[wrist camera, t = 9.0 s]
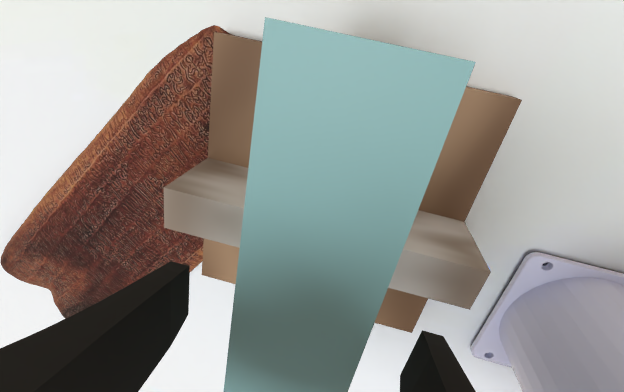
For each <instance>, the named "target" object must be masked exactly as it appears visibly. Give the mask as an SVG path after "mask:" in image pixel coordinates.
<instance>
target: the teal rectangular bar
mask: <svg viewBox="0 0 624 392" xmlns="http://www.w3.org/2000/svg"><path fill="white" fill-rule="evenodd" d="M475 63H476V62H473V61H468V60H464V59H459V58H454V57H450V56H445V55H440V54H436V53H431V52H426V51H421V50H417V49H412V48H407V47H403V46H398V45H393V44H389V43H384V42H379V41H374V40H370V39H365V38H360V37H356V36H351V35H346V34H342V33H337V32H332V31H327V30H323V29H318V28H313V27H309V26H304V25H299V24H295V23H290V22H285V21H281V20H276V19H271V18H266V17H265V23H264V32H263V41H262V50H261V59H260V68H259V77H258V86H257V95H256V104H255V113H254V122H253V131H252V140H251V149H250V158H249V167H248V177H247V186H246V195H245V204H244V213H243V222H242V231H241V240H240V249H239V258H238V267H237V276H236V285H235V294H234V303H233V312H232V321H231V330H230V339H229V349H228V358H227V367H226V376H225V385H224V392H348V389H349V387H350V384H351V382H352V379H353V376H354V374H355V371H356V369H357V366H358V364H359V361H360V358H361V356H362V353H363V351H364V348H365V346H366V343H367V340H368V338H369V335H370V333H371V330H372V328H373V325H374V322H375V320H376V317H377V315H378V312H379V310H380V307H381V304H382V302H383V299H384V297H385V294H386V292H387V289H388V286H389V284H390V281H391V279H392V276H393V274H394V271H395V268H396V266H397V263H398V261H399V258H400V256H401V253H402V250H403V248H404V245H405V243H406V240H407V238H408V235H409V232H410V230H411V227H412V225H413V222H414V220H415V217H416V214H417V212H418V209H419V207H420V204H421V202H422V199H423V196H424V194H425V191H426V189H427V186H428V184H429V181H430V178H431V176H432V173H433V171H434V168H435V166H436V163H437V160H438V158H439V155H440V153H441V150H442V147H443V145H444V142H445V140H446V137H447V135H448V132H449V129H450V127H451V124H452V122H453V119H454V117H455V114H456V111H457V109H458V106H459V104H460V101H461V99H462V96H463V93H464V91H465V88H466V86H467V83H468V81H469V78H470V75H471V73H472V70H473V68H474V65H475Z"/></svg>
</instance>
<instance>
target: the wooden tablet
mask: <svg viewBox="0 0 624 392" xmlns="http://www.w3.org/2000/svg"><path fill="white" fill-rule="evenodd" d="M214 32H216V33H225V34H229V33H228V32H226V31H225V30H223V29H222V28H220V27H218V26H215V25H213V26H211V27H208V28H206V29H203V30H201V31H200V32H199V33H198V34H196V35H194V36H193V37H191V38H190V39H188V40H187V41H186V42H184V43H182V44H181V45H179V46H178V47H177V48H176V49H175V50H173V51H172V52H171V53H169V54H168V55H166V56H165V57H164V58H163V59H162V60H161V61H160V62H159V63H158V64H157V65H156V66H155V67H154V68H153V69H152V70H151V71H150V72H149V73H148V74H147V75H146V76H145V78H144V79H143V81H142V82H141V83H140V84H139V85H138V86H137V87H136V89H135V90H134V91H133V93H132V94H131V96H130V97H129V98H128V99H127V100H126V101H125V103H124V104H123V105H122V106H121V107H120V109H119V110H118V111H117V112H116V114H115V115H114V116H113V117H112V118H111V119H110V120H109V122H108V123H107V124H106V125H105V126H104V128H103V129H102V130H101V131H100V132H99V133H98V134H97V135H96V137H95V139H94V140H93V141H92V142H91V143H90V144H89V145H88V147H87V148H86V149H85V150H84V151H83V152H82V153H81V154H80V155H79V156H78V157H77V158H76V160H75V161H74V162H73V163H72V165H71V166H70V167H69V168H68V169H67V170H66V171H65V172H64V173H63V175H62V176H61V177H60V178H59V179H58V181H57V182H56V183H55V184H54V185H53V187H52V188H51V189H50V190H49V191H48V192H47V193H46V195H45V196H44V197H43V198H42V200H41V201H40V202H39V204H38V205H37V206H36V207H35V208H34V209H33V211H32V212H31V214H30V215H29V217H28V218H27V219H26V220H25V222H24V223H23V224H22V225H21V227H20V228H19V229H18V230H17V232H16V233H15V235H13V237H12V238H11V240H10V241H9V242H8V244H7V246H6V247H5V249H4V252H3V254H2V256H1V265H2V267H3V269H4V270H5V271H6V272H7V273H9V274H11V275H12V276H14V277H15V278H17V279H19V280H21V281H24V282H26V283H30V284H33V285H38V286H41V287H44V288H47V289H49V290H50V291H51V292H52V295H53V299H54V302H55V304H56V306H57V307H58V309H59V311H60V312H61V314H62V315H63V316H64V317H65V318H68V317H70V316H72V315H74V314H76V313H78V312H80V311H82V310H84V309H86V308H88V307H90V306H92V305H94V304H95V303H97V302H99V301H101V300H103V299H105V298H106V297H108V296H110V295H112V294H114V293H115V292H117V291H119V290H121V289H123V288H125V287H126V286H128V285H130V284H132V283H133V282H135V281H137V280H139V279H140V278H142V277H144V276H146V275H147V274H149V273H151V272H152V271H154V270H156V269H158V268H160V267H161V266H163V265H165V264H167V263H169V262H170V261H173V262H176V263H180V264H183V265H187V266H190V269H189V272H191V271H192V270H193V269H194V268H195V267H196V266H197V265H198V264H200V263H201V262H202V261H203V243H204V238H201V237H197V236H193V235H190V234H186V233H182V232H179V231H175V230H171V229H167V228H164V187H165V186H167V185H168V184H170V183H171V182H173V181H174V180H176V179H177V178H179V177H180V176H182V175H183V174H185V173H186V172H187V171H189V170H190V169H192V168H193V167H195V166H196V165H198V164H199V163H201V162H202V161H204V160H205V159H207V158H208V143H209V123H210V103H211V83H212V63H213V43H214ZM230 35H231V34H230Z"/></svg>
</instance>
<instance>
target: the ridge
mask: <svg viewBox="0 0 624 392" xmlns="http://www.w3.org/2000/svg"><path fill="white" fill-rule="evenodd" d="M261 50H262V42H261V41H257V40H252V39H248V38H243V37H239V36H234V35H230V34H225V33H216V32H214V43H213V63H212V83H211V103H210V123H209V143H208V158H207V159H205V160H204V161H202V162H201V163H199V164H198V165H196V166H195V167H193V168H192V169H190V170H189V171H187V172H186V173H185V174H183V175H182V176H180V177H179V178H177V179H176V180H174V181H173V182H171V183H170V184H168V185H167V186H165V187H164V228H167V229H171V230H175V231H179V232H182V233H186V234H190V235H193V236H197V237H201V238H204V243H203V263H202V275H204V276H208V277H212V278H215V279H219V280H223V281H226V282H230V283H233V284H236V276H237V267H238V258H239V249H240V240H241V231H242V222H243V213H244V204H245V195H246V186H247V177H248V167H249V158H250V149H251V140H252V131H253V122H254V113H255V104H256V95H257V86H258V77H259V68H260V59H261ZM521 101H522V100H520V99H517V98H515V97H511V96H507V95H502V94H498V93H493V92H489V91H484V90H479V89H475V88H470V87H466V88H465V91H464V93H463V96H462V99H461V101H460V104H459V106H458V109H457V111H456V114H455V117H454V119H453V122H452V124H451V127H450V129H449V132H448V135H447V137H446V140H445V142H444V145H443V147H442V150H441V153H440V155H439V158H438V160H437V163H436V166H435V168H434V171H433V173H432V176H431V178H430V181H429V184H428V186H427V189H426V191H425V194H424V196H423V199H422V202H421V204H420V207H419V209H418V212H417V214H416V217H415V220H414V222H413V225H412V227H411V230H410V232H409V235H408V238H407V240H406V243H405V245H404V248H403V250H402V253H401V256H400V258H399V261H398V263H397V266H396V268H395V271H394V274H393V276H392V279H391V281H390V284H389V286H388V289H387V292H386V294H385V297H384V299H383V302H382V304H381V307H380V310H379V312H378V315H377V317H376V320H375V323H378V324H382V325H386V326H389V327H393V328H396V329H400V330H404V331H407V332H411V333H412V331H413V329H414V327H415V325H416V323H417V321H418V319H419V317H420V314H421V312H422V310H423V308H424V306H425V304H426V302H427V300H428V298H429V299H433V300H436V301H440V302H444V303H448V304H451V305H455V306H459V307H462V308H466V309H470V308H471V306H472V305H473V303H474V301H475V299H476V297H477V296H478V294H479V292H480V290H481V288H482V287H483V285H484V283H485V281H486V280H487V278H488V276H489V274H490V270H489V268H488V266H487V264H486V262H485V260H484V258H483V256H482V254H481V253H480V251H479V249H478V247H477V245H476V243H475V241H474V239H473V237H472V235H471V234H470V232H469V230H468V228H467V226H466V224H465V222H464V221H465V219H466V217H467V215H468V213H469V211H470V209H471V207H472V204H473V202H474V200H475V198H476V196H477V194H478V192H479V190H480V188H481V185H482V183H483V181H484V179H485V177H486V175H487V173H488V171H489V168H490V166H491V164H492V162H493V160H494V158H495V156H496V154H497V152H498V149H499V147H500V145H501V143H502V141H503V139H504V137H505V135H506V133H507V130H508V128H509V126H510V124H511V122H512V120H513V118H514V116H515V114H516V111H517V109H518V107H519V105H520V103H521Z"/></svg>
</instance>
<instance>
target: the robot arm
mask: <svg viewBox="0 0 624 392" xmlns="http://www.w3.org/2000/svg"><path fill="white" fill-rule="evenodd" d="M546 262H549V263H548V264H547V265H545V266H542V265H543V264H544V263H546ZM189 269H190V266H187V265H183V264H180V263H176V262H173V261H170V262H169V263H167V264H165V265H163V266H161V267H160V268H158V269H156V270H154V271H152V272H151V273H149V274H147V275H146V276H144V277H142V278H140V279H139V280H137V281H135V282H133V283H132V284H130V285H128V286H126V287H125V288H123V289H121V290H119V291H117V292H115V293H114V294H112V295H110V296H108V297H106V298H105V299H103V300H101V301H99V302H97V303H95V304H94V305H92V306H90V307H88V308H86V309H84V310H82V311H80V312H78V313H76V314H74V315H72V316H70V317H68V318H66V319H64V320H62V321H60V322H58V323H56V324H54V325H52V326H50V327H48V328H46V329H44V330H41V331H39V332H37V333H35V334H33V335H30V336H28V337H26V338H24V339H21V340H19V341H17V342H14V343H12V344H10V345H7V346H5V347H3V348H0V392H138V391H139V390H140V388H141V387H142V385H143V384H144V383H145V381H146V380H147V379H148V377H149V376H150V374H151V373H152V372H153V370H154V369H155V367H156V366H157V364H158V363H159V362H160V360H161V359H162V357H163V356H164V355H165V353H166V352H167V350H168V349H169V347H170V346H171V344H172V343H173V341H174V339H175V337H176V336H177V334H178V332H179V330H180V328H181V327H182V325H183V323H184V321H185V319H186V317H187V316H188V305H189ZM470 349H471V352H472V355H473V356H474V357H477V358H480V359H483V360H487V361H490V362H494V363H498V364H501V365H505V366H509V367H512V368H513V370H514V373H515V375H516V377H517V379H518V382H519V384H520V386H521V389H522V391H523V392H624V274H623V273H619V272H615V271H611V270H607V269H603V268H599V267H595V266H591V265H587V264H583V263H579V262H575V261H571V260H567V259H563V258H559V257H555V256H551V255H548V254H544V253H540V252H533V253H530V254H528V255H527V256H526V257H525V258H524V260H523V261H522V263H521V265H520V266H519V268H518V270H517V271H516V273H515V275H514V276H513V278H512V280H511V281H510V283H509V285H508V286H507V288H506V289H505V291H504V293H503V294H502V296H501V298H500V299H499V301H498V303H497V304H496V306H495V308H494V309H493V311H492V313H491V314H490V316H489V318H488V319H487V321H486V322H485V324H484V326H483V327H482V329H481V331H480V332H479V334H478V336H477V337H476V339H475V341H474V342H473V344H472V346H471V348H470ZM488 352H489V353H488ZM400 392H475V390H474V388H473V387H472V385H471V383H470V381H469V380H468V378H467V376H466V375H465V373H464V371H463V369H462V368H461V366H460V364H459V363H458V361H457V359H456V357H455V356H454V354H453V352H452V350H451V349H450V347H449V345H448V344H447V342H446V340H445V338H444V337H443V336H440V335H437V334H433V333H429V332H426V331H422V332H421V334H420V336H419V338H418V340H417V342H416V344H415V346H414V348H413V351H412V353H411V355H410V357H409V359H408V361H407V363H406V365H405V367H404V369H403V371H402V373H401V375H400Z"/></svg>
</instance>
